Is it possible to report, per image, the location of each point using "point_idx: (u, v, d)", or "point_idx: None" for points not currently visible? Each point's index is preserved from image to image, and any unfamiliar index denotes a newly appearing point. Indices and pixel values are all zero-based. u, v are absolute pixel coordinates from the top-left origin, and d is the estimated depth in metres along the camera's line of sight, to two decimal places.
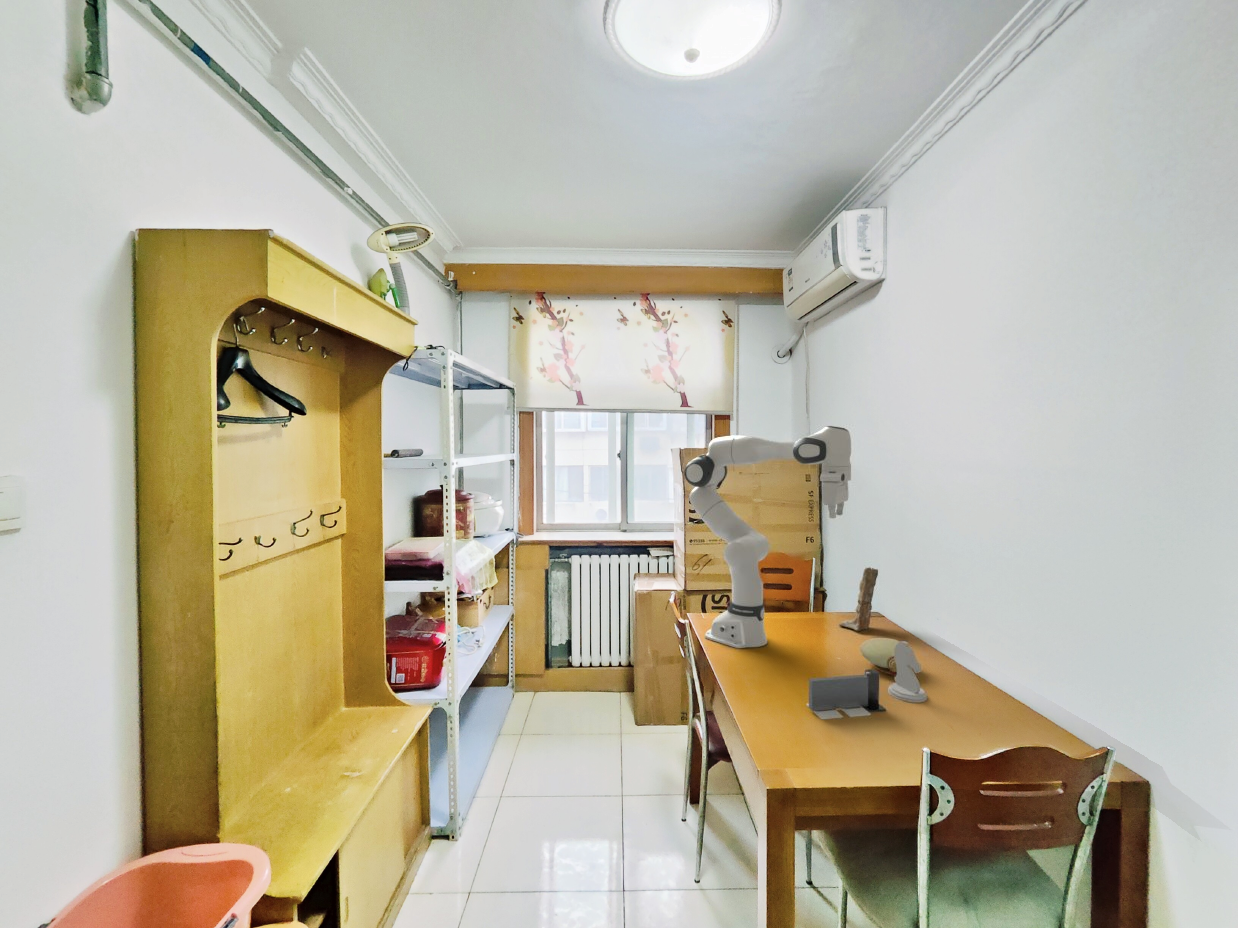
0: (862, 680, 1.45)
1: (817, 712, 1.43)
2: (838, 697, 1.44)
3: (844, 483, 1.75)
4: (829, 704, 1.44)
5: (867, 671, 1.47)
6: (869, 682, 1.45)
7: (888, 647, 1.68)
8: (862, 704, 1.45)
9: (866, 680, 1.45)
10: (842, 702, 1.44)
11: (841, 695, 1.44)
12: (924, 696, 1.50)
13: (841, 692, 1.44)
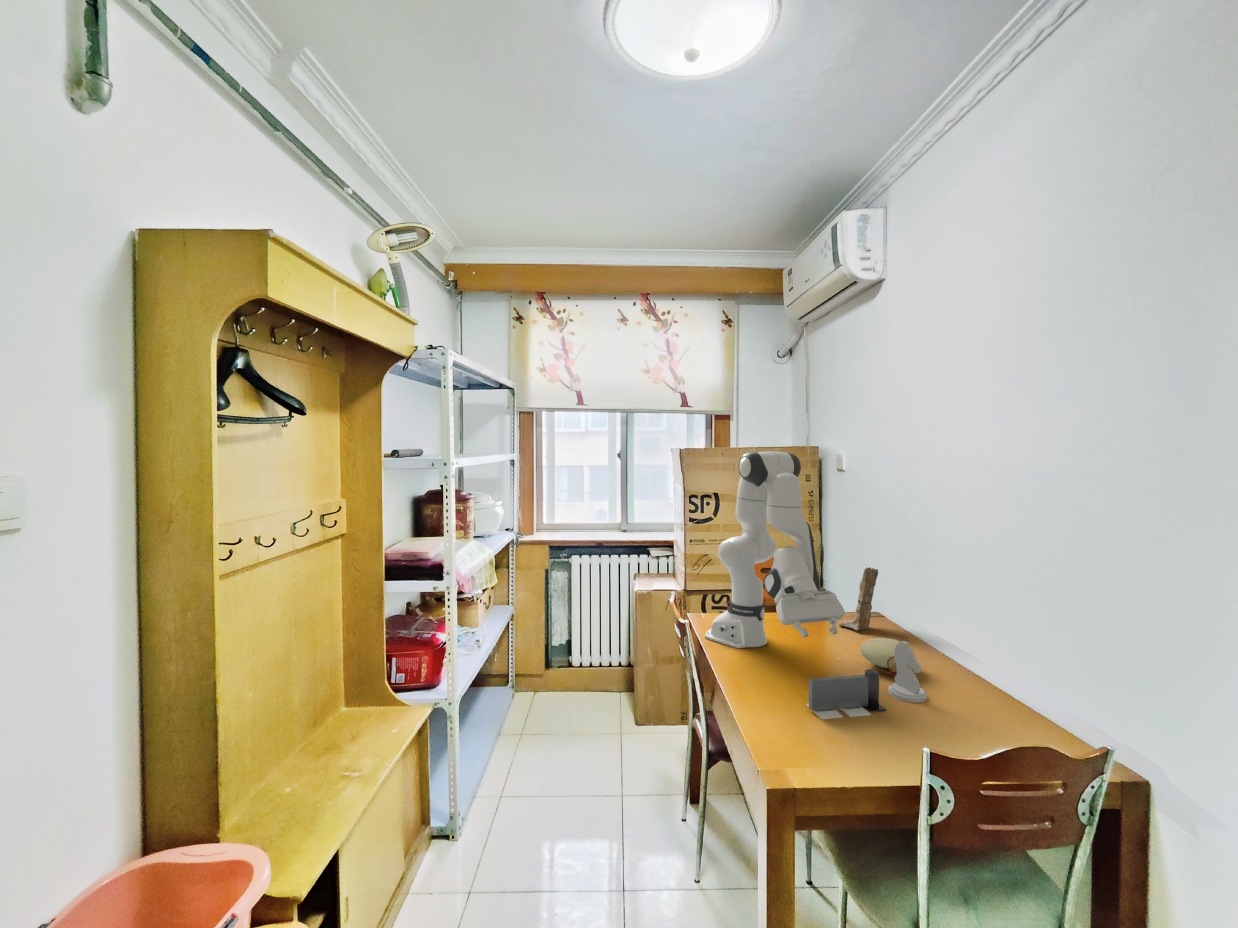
0: (862, 680, 1.45)
1: (817, 712, 1.43)
2: (838, 697, 1.44)
3: (805, 596, 1.62)
4: (829, 704, 1.44)
5: (867, 671, 1.47)
6: (869, 682, 1.45)
7: (888, 647, 1.68)
8: (862, 704, 1.45)
9: (866, 680, 1.45)
10: (842, 702, 1.44)
11: (841, 695, 1.44)
12: (924, 696, 1.50)
13: (841, 692, 1.44)
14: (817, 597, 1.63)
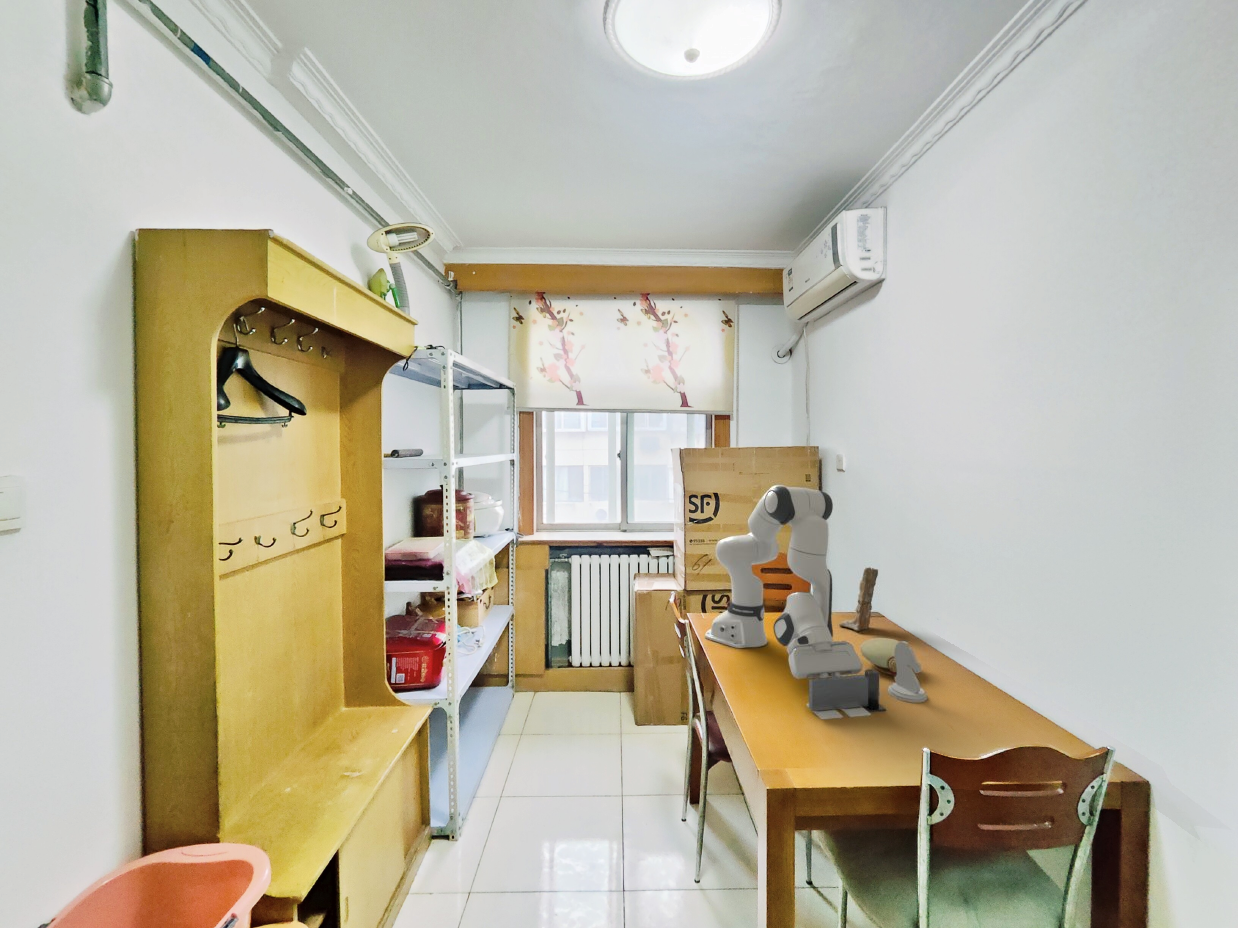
0: (862, 680, 1.45)
1: (817, 712, 1.43)
2: (838, 697, 1.44)
3: (820, 647, 1.52)
4: (829, 704, 1.44)
5: (867, 671, 1.47)
6: (869, 682, 1.45)
7: (888, 647, 1.68)
8: (862, 704, 1.45)
9: (866, 680, 1.45)
10: (842, 702, 1.44)
11: (841, 695, 1.44)
12: (924, 696, 1.50)
13: (841, 692, 1.44)
14: (833, 648, 1.53)
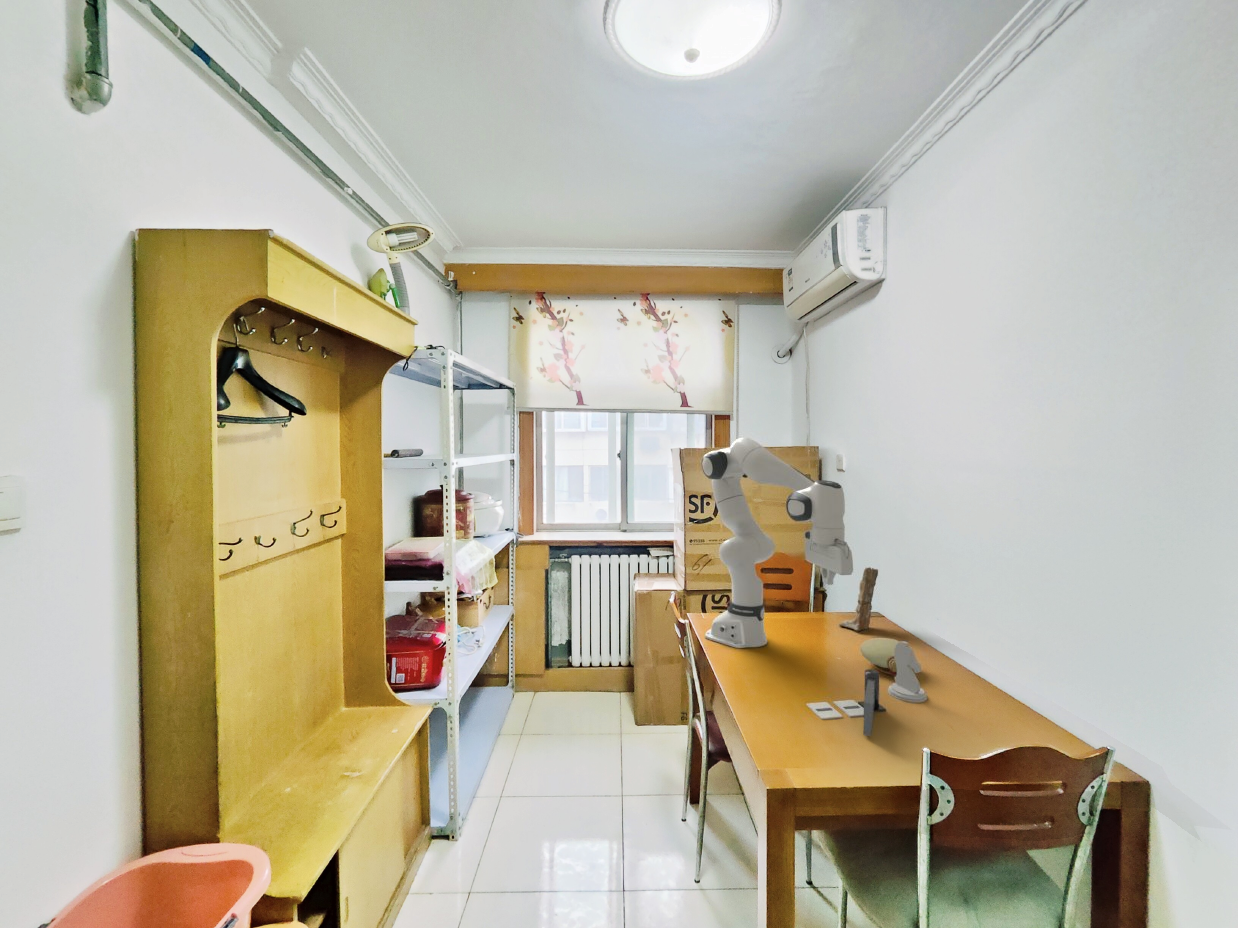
0: (874, 683, 1.43)
1: (817, 712, 1.43)
2: None
3: (816, 544, 1.58)
4: None
5: (870, 673, 1.46)
6: (875, 683, 1.45)
7: (888, 647, 1.68)
8: None
9: (874, 682, 1.44)
10: None
11: None
12: (924, 696, 1.50)
13: None
14: (827, 548, 1.54)
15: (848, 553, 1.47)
